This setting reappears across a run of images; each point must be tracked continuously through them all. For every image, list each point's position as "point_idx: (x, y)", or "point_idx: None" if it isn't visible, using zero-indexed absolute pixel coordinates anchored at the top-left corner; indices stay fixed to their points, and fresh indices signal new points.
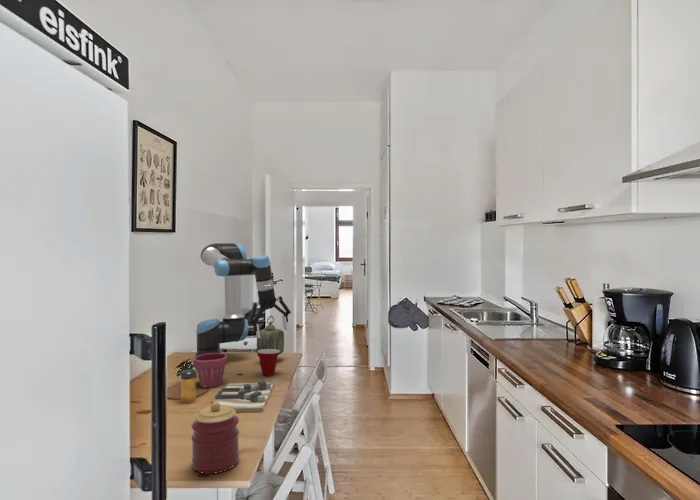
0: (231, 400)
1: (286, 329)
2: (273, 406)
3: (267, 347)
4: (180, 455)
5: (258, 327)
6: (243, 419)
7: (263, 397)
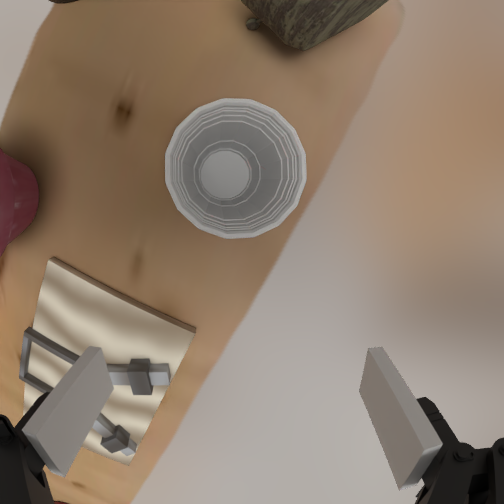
0: None
1: (363, 395)
2: (156, 450)
3: (286, 20)
4: None
5: (74, 451)
6: (93, 464)
7: (132, 452)
